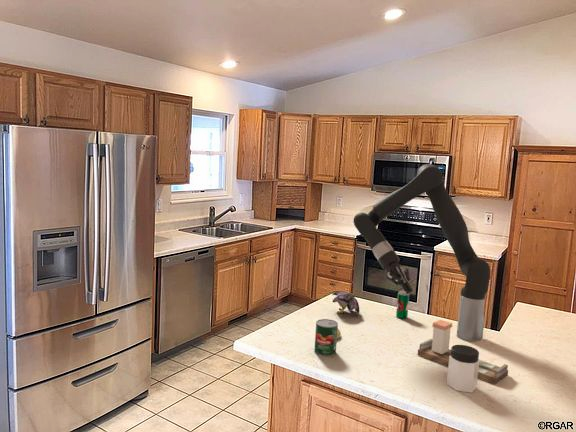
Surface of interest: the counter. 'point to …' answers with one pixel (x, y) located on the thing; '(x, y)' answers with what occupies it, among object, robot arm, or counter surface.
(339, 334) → the bread roll
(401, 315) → the soda can
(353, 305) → the bird figurine
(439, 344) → the fader knob
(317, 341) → the canned tomato
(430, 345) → the fader console
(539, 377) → the counter surface
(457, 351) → the jar
